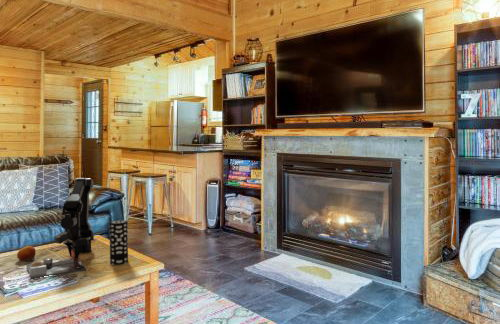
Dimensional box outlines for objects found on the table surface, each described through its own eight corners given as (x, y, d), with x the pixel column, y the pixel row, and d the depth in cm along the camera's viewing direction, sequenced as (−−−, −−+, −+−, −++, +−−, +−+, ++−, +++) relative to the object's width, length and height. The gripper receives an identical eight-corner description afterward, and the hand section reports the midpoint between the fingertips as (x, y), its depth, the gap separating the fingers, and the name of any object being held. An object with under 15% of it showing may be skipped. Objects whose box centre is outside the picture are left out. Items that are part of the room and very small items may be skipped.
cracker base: (76, 258, 197) (76, 250, 197) (86, 270, 179) (85, 260, 179) (26, 266, 185) (26, 257, 185) (31, 279, 167) (30, 269, 167)
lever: (34, 269, 177) (34, 257, 176) (32, 267, 180) (32, 255, 179) (79, 261, 189) (79, 249, 189) (77, 259, 192) (77, 248, 192)
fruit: (31, 260, 190) (23, 245, 191) (19, 267, 192) (11, 253, 192) (42, 255, 198) (35, 241, 199) (31, 262, 200) (24, 248, 200)
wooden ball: (43, 269, 177) (42, 258, 177) (44, 272, 173) (44, 261, 172) (30, 271, 174) (30, 260, 174) (31, 275, 170) (31, 263, 170)
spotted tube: (131, 261, 193) (131, 221, 192) (119, 266, 186) (118, 224, 185) (118, 259, 197) (118, 219, 196) (106, 263, 189) (105, 222, 188)
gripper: (48, 225, 190) (48, 257, 190) (64, 230, 177) (65, 264, 178) (71, 222, 198) (71, 253, 198) (88, 226, 186) (89, 259, 186)
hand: (74, 257), depth 190 cm, fingers open, 5 cm apart
